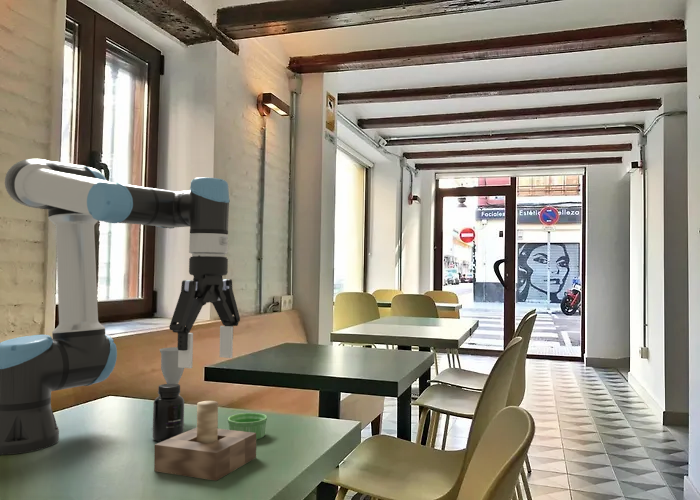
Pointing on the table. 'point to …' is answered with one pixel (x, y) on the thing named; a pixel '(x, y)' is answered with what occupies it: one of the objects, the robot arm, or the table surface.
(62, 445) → the table surface
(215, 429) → the peg
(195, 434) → the socket block
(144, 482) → the table surface
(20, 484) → the table surface
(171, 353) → the chalice
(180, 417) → the supplement bottle
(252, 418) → the ramekin
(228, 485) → the table surface
